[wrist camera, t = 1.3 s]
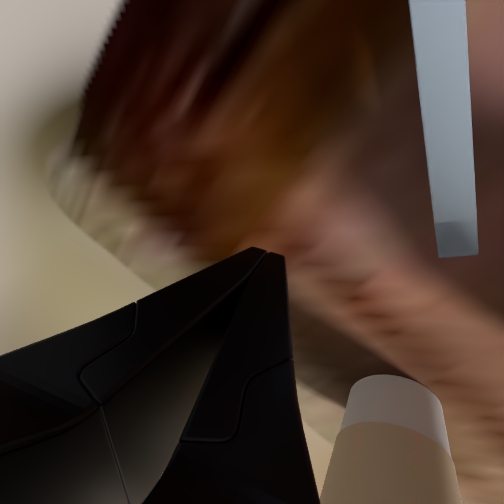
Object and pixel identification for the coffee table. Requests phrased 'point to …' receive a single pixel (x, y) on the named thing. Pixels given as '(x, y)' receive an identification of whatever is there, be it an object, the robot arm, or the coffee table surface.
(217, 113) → the coffee table surface
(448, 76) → the gate
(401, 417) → the coffee cup
